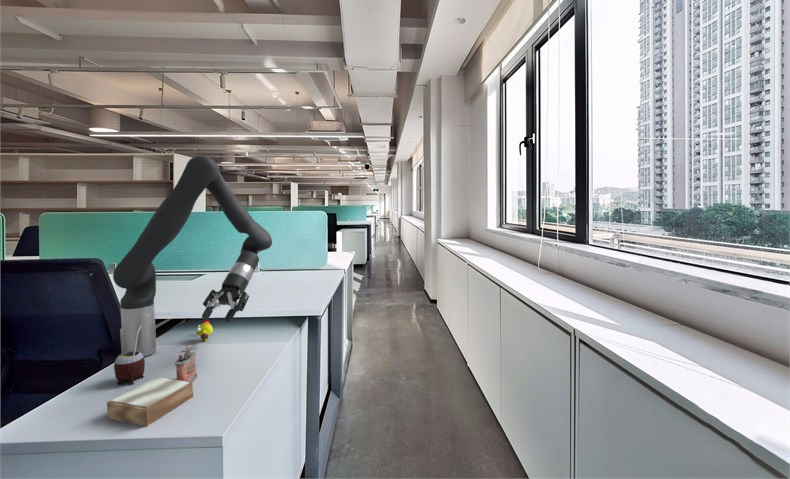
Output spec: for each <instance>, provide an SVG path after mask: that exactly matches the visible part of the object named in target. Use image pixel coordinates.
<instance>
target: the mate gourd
mask: <svg viewBox="0 0 790 479" xmlns="http://www.w3.org/2000/svg"><path fill="white" fill-rule="evenodd" d="M141 327H142V325H140V327H139V329H138V330H137V333H136V335H135V344H134V350H133V351H131V352H126V353H123V354H122V353H121V354H119V355H118V356H117V357H116V359H115V360H114V365H113V369H114V370H113V371H114V376H115V378H116V381H117V382H116V384H117V385H124V384H125V383H126V384H127V383H129V385H130V386H133V385H135V382H134V381H137V379H138V380H141V379H143V377H144V378H145V375H144V372H145V366H146V365H145V364H146V361H145V357H144V356H143V354H142V353H140V352H138V351H136V345H137V338H138V333H139V331H140V329H141ZM140 378H141V379H140Z"/></svg>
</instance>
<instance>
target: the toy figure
mask: <svg viewBox="0 0 790 479" xmlns="http://www.w3.org/2000/svg"><path fill="white" fill-rule="evenodd" d="M196 330H197V331H196V335H197V336H198V337H200V339H201V340H202V342H207V341H208V339H209V336H210V335H212V333H213V330H214V329H213V326H212V325H211V322H210V321H209V320H204V321H202V324H199V325H198V326H197V329H196Z"/></svg>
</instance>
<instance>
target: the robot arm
mask: <svg viewBox="0 0 790 479" xmlns="http://www.w3.org/2000/svg"><path fill="white" fill-rule="evenodd" d="M206 189H207V191H208V192H209V193H210V194H211V195H212V197H213V198H214V200H215V201H216V203H217V204H218V205H219V207H220V209H221V211H222V212H223V214H224V215H225V217H226V218H227V220H228V221H229V223H230V224H231V225H232V226H233V228H234V229H235V230H236V232H238V233H239V234H246V235H247V237H246V238H245V239H244V241H243V243H242V246H241V250H240V253H239V255H238V257H237V259H236V260H235V262H234V264H233V265H232V266H231V268H230V270H229V271H228V272H227V274H226V276H225V277H224V280H223V282H222V283H221V289H220V290H218V291H216V290H215V289H211V290H210V292H209V293H208V295H207V297H206V298H204V299H205V300H204V301H203V302H202V305H203V306H204V307H205V309H204V311H203V312H202V315H201V318H202V320H204V321H209V318H210V317H211V315H212V313H213V312H214V310H215V309H216V308H220V307H221V306H225V305H227V306H229V308H230V309H228V311H227V312H226V315H225V317H224V321H225V322H226V323H228V324H229V323H231V321H233V319H234V317H235V315H236V314H237V313H238V312H243V311H244V309H245V307H246V305H247V302H248V300H249V298H250V296H249V294H248V293H247V292H246V289H247V287H248V285H249V283H250V281H251V280H252V278H253V274H254V273H255V270H256V268H257V267H258V264H259V261H260V257H259V255H258V254H259V253H261V252H262V251H266V250H269V249H270V248H271V247H272V245H273V239H272V236H271V235H270V233H269V232H268V230H266V229H265V228H264V227H263V226H262V225H261V224H259V223H258V222H256V220H255V219H253V217H252V215H251V214H250V213H249V212H248V210H247V209H246V207H245V206H244V204H242V202H241V201H240V200H239V199H238V198H237V197H236V195H235V194H234V193H233V191H232V190H231V188H230V187H229V185H228V184H227V181H226V180H225V178H224V177H223V175H222V173H221V170H220V169H219V167H218V164H217V162H216V161H215V160H214V159H212V157H210V156H206V155H197V156H194V157H192V158H190V159H189V160H188V162H187V163H186V165H185V167H184V170H183V172H182V174H181V176H180V177H179V179H178V181H177V183H176V184H175V187H174V188H173V189H171V191H170V193H169V194H168V195H167V196H166V197H165V198H164V200H163V201H161V203H160V205H159V206H158V208H157V209H156V210H155V212H154V213H153V215H152V216H151V218H150V220H148V223H147V224H146V226H145V227H144V229H143V231H142V232H141V233H140V235H139V237H138V239H137V240H136V242H135V243H134V244H133V245H132V247H131V248H130V249H129V251H128V252H127V253H126V254H125V255H124V257H123V258H122V259H121V260H120V262H118V264H116V267H115V268H114V269H113V274H112V278H113V282H114V283H115V285H116V286H117V287H119V288H122V289H125V293H124V295H123V296H122V297H121V299H120V302H119V303H120V305H119V306H120V319H121V320H120V322H121V328H120V329H119V334H120V335H119V336H120V349H121V352H120V353H121V354H123V353H126V352H131V351H133V350H134V344H135V335H136V333H137V330H138V329H139V327H140V325H142V327H141V329H140V331H139V333H138V338H137V345H136V351H138V352H140V353H142V354H143V356H147V357H149V356H148V355H150V354H152V355H153V353H154V354H155V353H157V351H156V350H157V336H156V335H157V334H156V316H155V297H156V294H157V293H156V292H157V276H156V275H157V274H156V272H157V271H156V269H155V266H154V264H153V261H154V260H155V258H156V257H157V256H158V255H159V254H160V253H161V252H162V251H163V250H164V249H165V248H166V247H167V246H169V245H170V243H171V242H173V241H174V240H175V239H176V237H177V236H178V235H179V234H180V232H181V230H182V229H183V228H184V226H185V225H186V223H187V221H188V220H189V218H190V216H191V214H192V211H193V209H194V208H195V204H196V202H197V200H198V199H199V197H200V196H201V195H202V194H203V192H204V191H205V190H206ZM150 356H151V355H150Z"/></svg>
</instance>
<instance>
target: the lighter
mask: <svg viewBox="0 0 790 479" xmlns="http://www.w3.org/2000/svg"><path fill="white" fill-rule="evenodd" d="M193 350H194V346H193V345H188V346H187V347H186V348H185V349H181V350H180V353H178V359H176V361H175V363H174V364H175V368H176V370H175V371H176V380H179V381H186V382H192V384H193V383H194V382H195V381H196V380H197V379H198V373H197V362H196V361H197V352H195V351H193Z"/></svg>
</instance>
